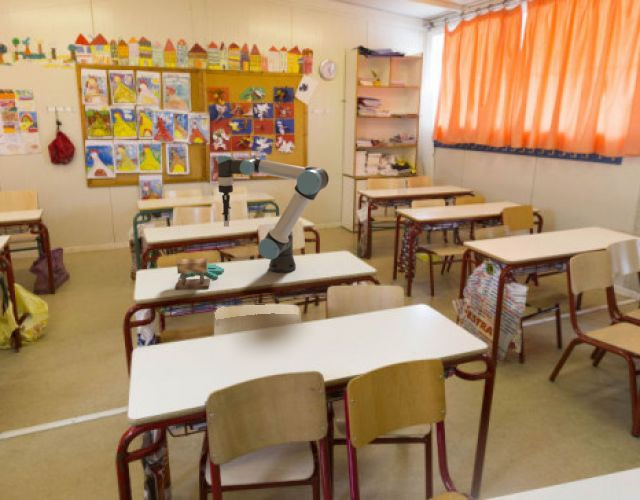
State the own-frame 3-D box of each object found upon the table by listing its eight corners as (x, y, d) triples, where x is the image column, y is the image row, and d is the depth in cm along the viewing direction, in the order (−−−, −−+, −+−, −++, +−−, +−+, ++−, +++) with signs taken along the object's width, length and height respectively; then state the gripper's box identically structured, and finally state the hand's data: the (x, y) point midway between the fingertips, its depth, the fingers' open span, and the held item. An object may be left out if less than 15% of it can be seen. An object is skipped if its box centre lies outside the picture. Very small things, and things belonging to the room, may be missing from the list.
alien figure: (216, 280, 257) (227, 268, 276) (216, 276, 256) (227, 264, 276) (180, 278, 259) (193, 267, 278) (180, 274, 258) (193, 263, 277)
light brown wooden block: (207, 267, 251) (206, 258, 249) (206, 272, 243) (206, 262, 242) (179, 268, 248) (178, 259, 247) (177, 273, 241) (177, 264, 239)
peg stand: (210, 281, 254) (209, 266, 252) (208, 288, 244) (207, 273, 242) (178, 282, 252) (177, 267, 250) (175, 289, 242) (174, 274, 239)
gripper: (219, 181, 270) (221, 218, 276) (216, 188, 246) (218, 229, 252) (233, 181, 271) (234, 218, 277) (231, 188, 248) (233, 228, 253)
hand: (227, 223), depth 265 cm, fingers open, 13 cm apart
